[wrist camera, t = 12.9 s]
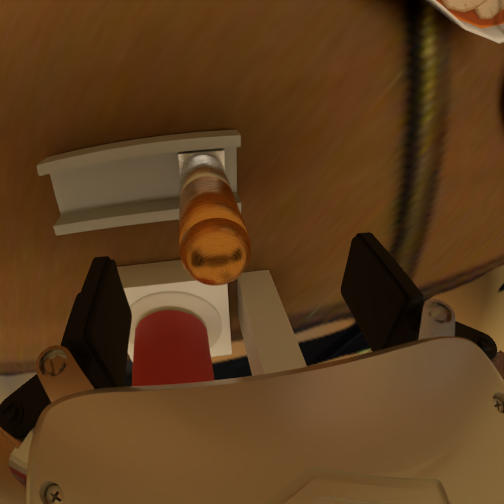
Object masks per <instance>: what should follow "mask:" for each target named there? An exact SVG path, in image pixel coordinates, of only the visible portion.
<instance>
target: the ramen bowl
mask: <svg viewBox="0 0 504 504" xmlns="http://www.w3.org/2000/svg"><path fill="white" fill-rule="evenodd" d="M425 1H427V2H428V3H429V4H430V5H432V6H433V7H434V8H435V9H437V10H438V11H439V12H441V13H442V14H443V15H444V16H446V17H447V18H448V19H449V20H450V21H452V22H454V23H455V24H457V25H459V26H460V27H462V28H463V29H465V30H467V31H469V32H472V33H475V34H477V35H480V36H482V37H485V38H487V39H489V40H492V41H494V42H496V43H503V42H504V0H425Z"/></svg>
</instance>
